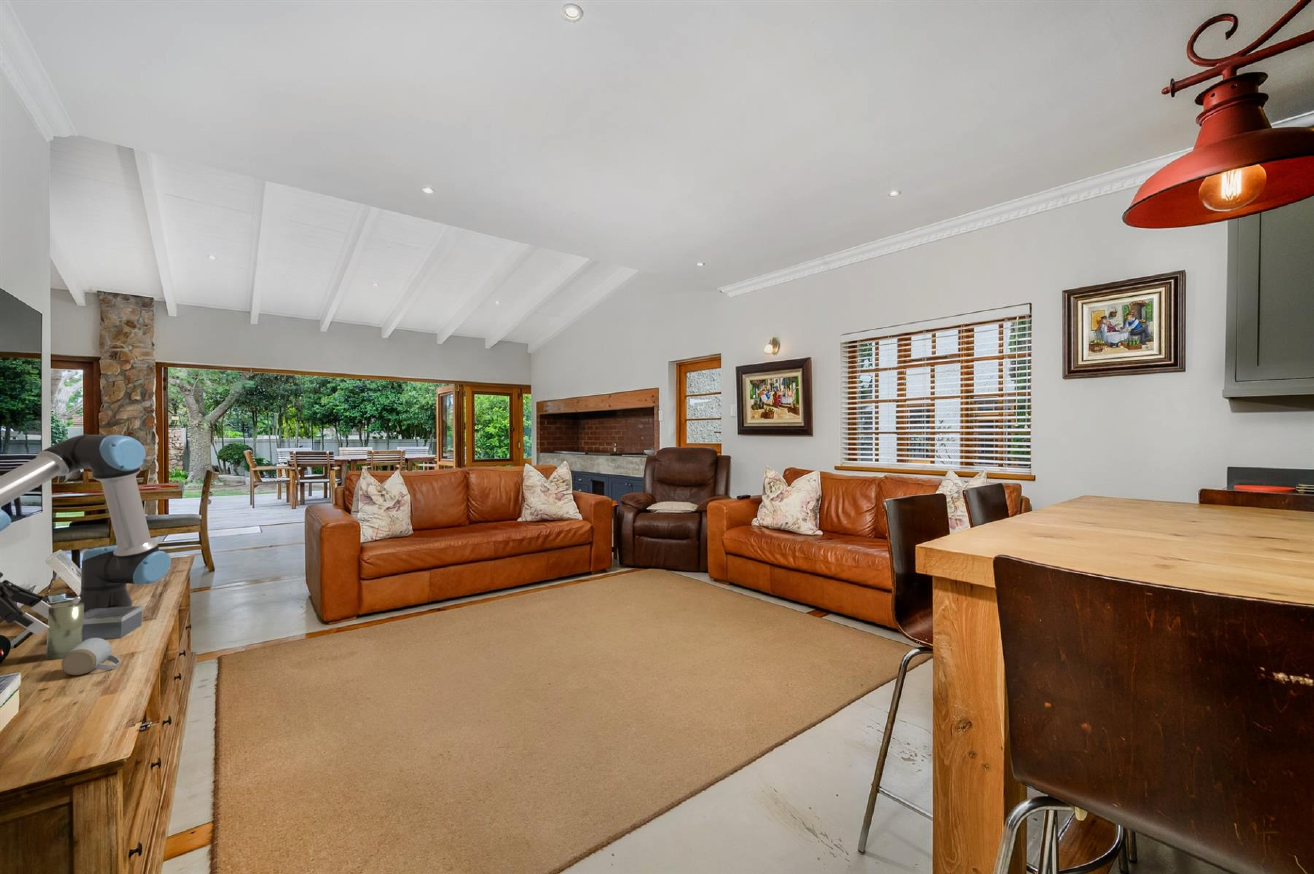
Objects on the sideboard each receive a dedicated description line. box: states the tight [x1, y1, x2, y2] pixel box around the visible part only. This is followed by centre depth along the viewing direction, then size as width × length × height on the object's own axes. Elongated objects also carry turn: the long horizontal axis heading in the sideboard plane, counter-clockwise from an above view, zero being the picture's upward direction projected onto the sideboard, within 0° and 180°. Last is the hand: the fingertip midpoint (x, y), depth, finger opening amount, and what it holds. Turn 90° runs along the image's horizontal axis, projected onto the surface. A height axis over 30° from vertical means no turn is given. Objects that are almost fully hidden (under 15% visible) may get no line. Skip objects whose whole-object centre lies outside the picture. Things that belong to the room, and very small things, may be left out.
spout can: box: [45, 595, 84, 661], centre depth 159 cm, size 7×7×16 cm
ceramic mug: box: [61, 638, 121, 676], centre depth 149 cm, size 11×8×8 cm
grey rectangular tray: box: [82, 605, 143, 642], centre depth 178 cm, size 16×13×6 cm
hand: (51, 624), depth 157 cm, fingers open, 13 cm apart
